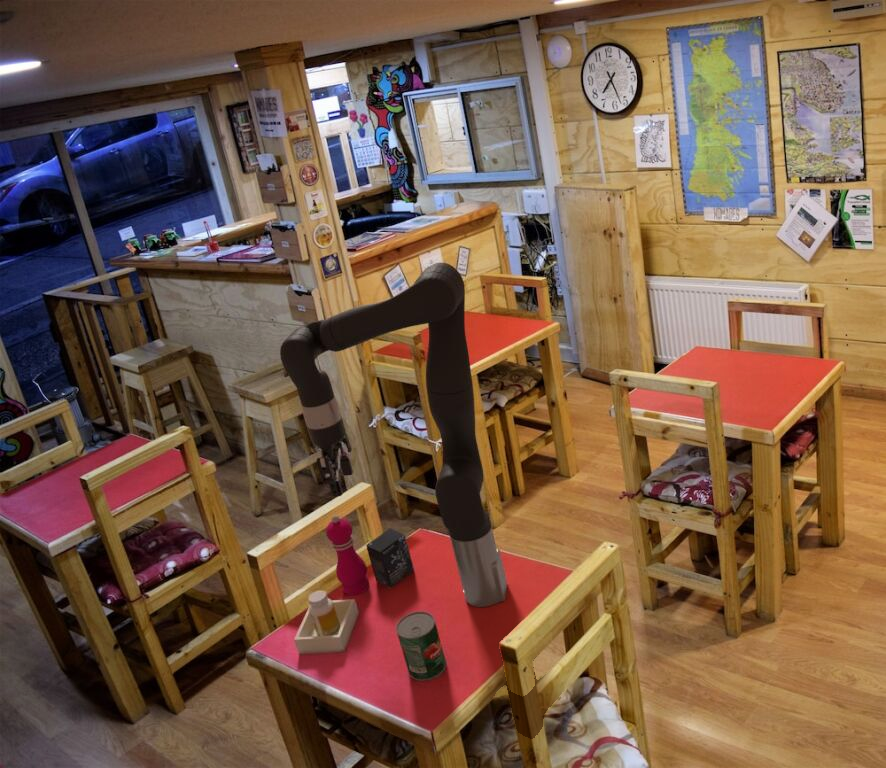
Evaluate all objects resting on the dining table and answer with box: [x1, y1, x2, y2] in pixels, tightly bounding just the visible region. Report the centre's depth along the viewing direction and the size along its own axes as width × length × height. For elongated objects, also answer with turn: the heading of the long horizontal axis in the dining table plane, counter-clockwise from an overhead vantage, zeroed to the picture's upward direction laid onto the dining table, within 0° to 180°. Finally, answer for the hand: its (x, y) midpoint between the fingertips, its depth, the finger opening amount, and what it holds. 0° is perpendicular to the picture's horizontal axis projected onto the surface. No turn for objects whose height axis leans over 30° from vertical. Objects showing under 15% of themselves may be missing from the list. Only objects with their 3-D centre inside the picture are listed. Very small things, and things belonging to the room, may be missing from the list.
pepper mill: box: [325, 514, 370, 596], centre depth 205 cm, size 7×7×20 cm
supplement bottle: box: [308, 590, 340, 636], centre depth 193 cm, size 5×5×10 cm
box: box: [365, 528, 415, 589], centre depth 207 cm, size 8×6×11 cm
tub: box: [293, 598, 360, 655], centre depth 194 cm, size 10×12×4 cm
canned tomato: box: [395, 610, 447, 682], centre depth 176 cm, size 8×8×11 cm
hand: (343, 484), depth 192 cm, fingers open, 8 cm apart
